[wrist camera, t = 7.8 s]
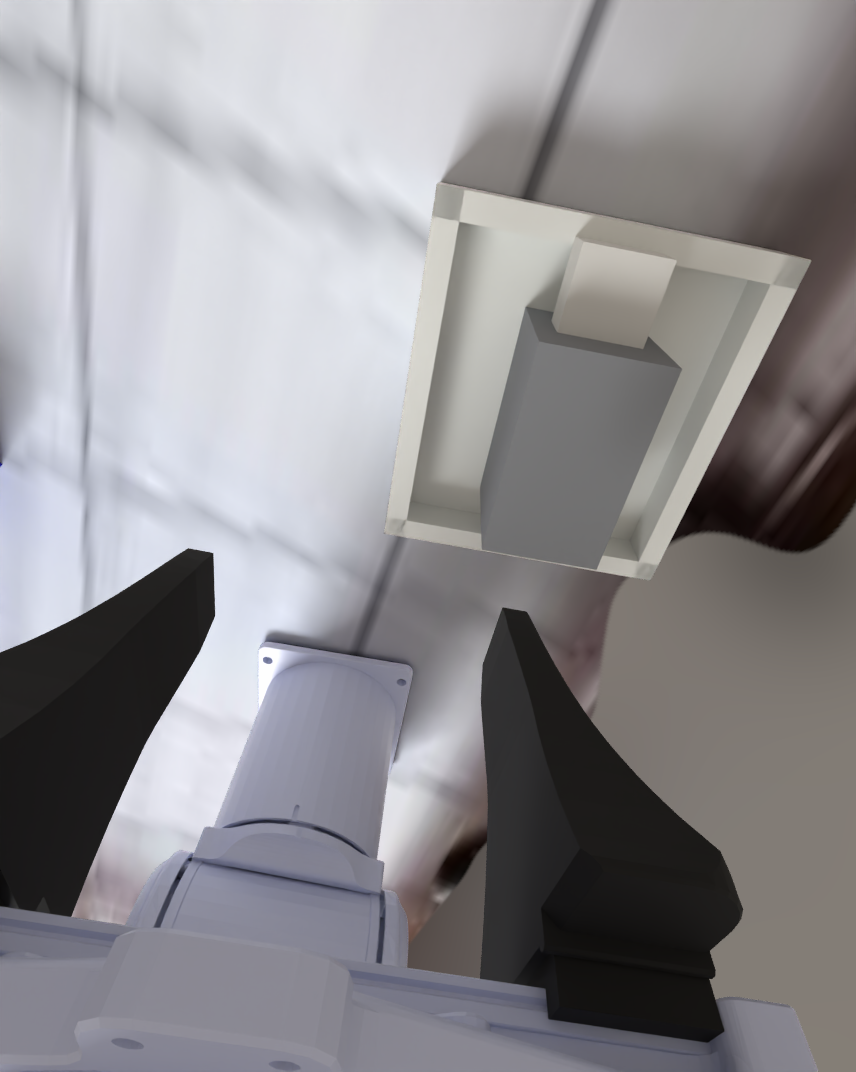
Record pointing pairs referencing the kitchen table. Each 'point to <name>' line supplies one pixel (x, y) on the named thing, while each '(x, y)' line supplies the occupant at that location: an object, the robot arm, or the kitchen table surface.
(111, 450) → the kitchen table surface
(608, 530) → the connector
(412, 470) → the tray
